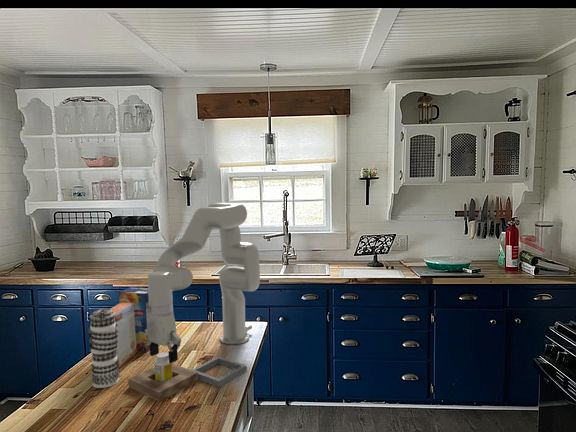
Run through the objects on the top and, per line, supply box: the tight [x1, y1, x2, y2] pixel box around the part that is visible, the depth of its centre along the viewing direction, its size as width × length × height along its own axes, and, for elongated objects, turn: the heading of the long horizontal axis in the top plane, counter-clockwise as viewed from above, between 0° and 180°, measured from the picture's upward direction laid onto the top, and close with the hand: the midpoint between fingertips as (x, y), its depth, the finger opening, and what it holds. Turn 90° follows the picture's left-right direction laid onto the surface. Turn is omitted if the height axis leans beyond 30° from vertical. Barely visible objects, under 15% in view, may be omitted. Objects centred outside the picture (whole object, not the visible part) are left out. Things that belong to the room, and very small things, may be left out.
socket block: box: [127, 362, 199, 403], centre depth 141 cm, size 16×16×3 cm
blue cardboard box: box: [118, 287, 150, 353], centre depth 172 cm, size 12×8×24 cm, turn 77°
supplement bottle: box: [154, 352, 172, 383], centre depth 141 cm, size 6×6×10 cm
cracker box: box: [110, 302, 138, 369], centre depth 160 cm, size 14×6×21 cm, turn 173°
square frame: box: [191, 356, 248, 388], centre depth 149 cm, size 14×14×2 cm
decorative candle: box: [87, 308, 120, 389], centre depth 143 cm, size 9×9×25 cm
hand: (163, 358), depth 141 cm, fingers open, 9 cm apart
